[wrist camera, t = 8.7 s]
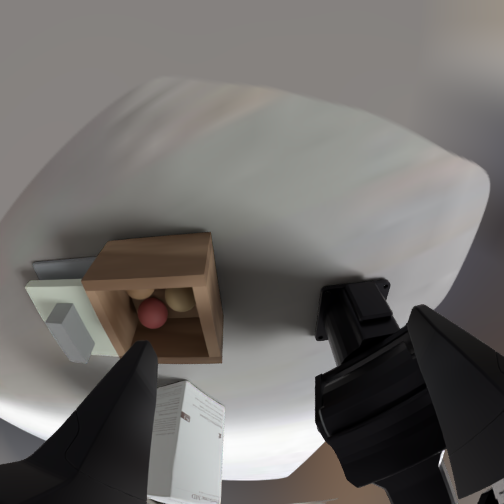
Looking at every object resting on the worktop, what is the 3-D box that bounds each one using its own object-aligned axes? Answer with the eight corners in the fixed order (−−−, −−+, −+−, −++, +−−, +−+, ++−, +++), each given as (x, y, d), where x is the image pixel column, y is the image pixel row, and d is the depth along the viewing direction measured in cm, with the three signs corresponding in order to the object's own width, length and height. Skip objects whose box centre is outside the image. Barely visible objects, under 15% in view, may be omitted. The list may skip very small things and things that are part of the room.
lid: (136, 341, 25) (125, 378, 21) (69, 338, 25) (55, 369, 21) (105, 270, 21) (84, 307, 17) (34, 274, 20) (11, 304, 17)
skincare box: (225, 405, 33) (227, 509, 20) (190, 414, 34) (185, 509, 22) (183, 376, 29) (172, 500, 16) (148, 387, 30) (131, 496, 18)
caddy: (223, 316, 24) (222, 363, 19) (136, 318, 23) (122, 362, 19) (210, 231, 19) (204, 274, 15) (108, 241, 19) (80, 280, 15)
